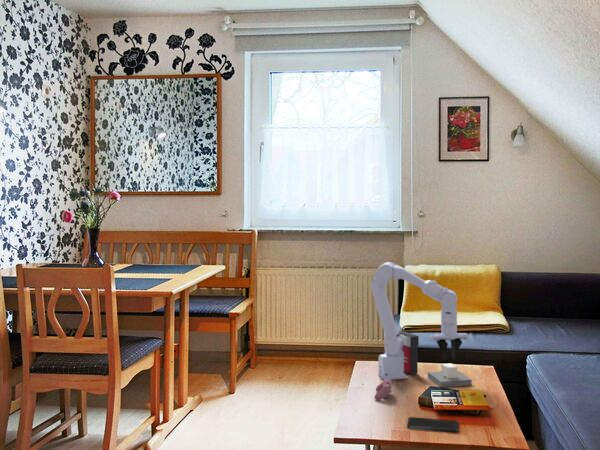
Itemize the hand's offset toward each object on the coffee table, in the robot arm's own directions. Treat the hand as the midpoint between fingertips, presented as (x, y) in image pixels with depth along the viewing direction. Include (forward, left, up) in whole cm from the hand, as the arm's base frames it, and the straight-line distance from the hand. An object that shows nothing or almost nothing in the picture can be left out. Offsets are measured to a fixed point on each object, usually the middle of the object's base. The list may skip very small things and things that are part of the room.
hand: (449, 359), depth 217 cm
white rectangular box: (0, 0, -8) cm, 8 cm away
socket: (0, 0, -8) cm, 8 cm away
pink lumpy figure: (-29, -10, -9) cm, 32 cm away
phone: (-23, -39, -9) cm, 46 cm away
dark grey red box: (-11, +16, -9) cm, 21 cm away
